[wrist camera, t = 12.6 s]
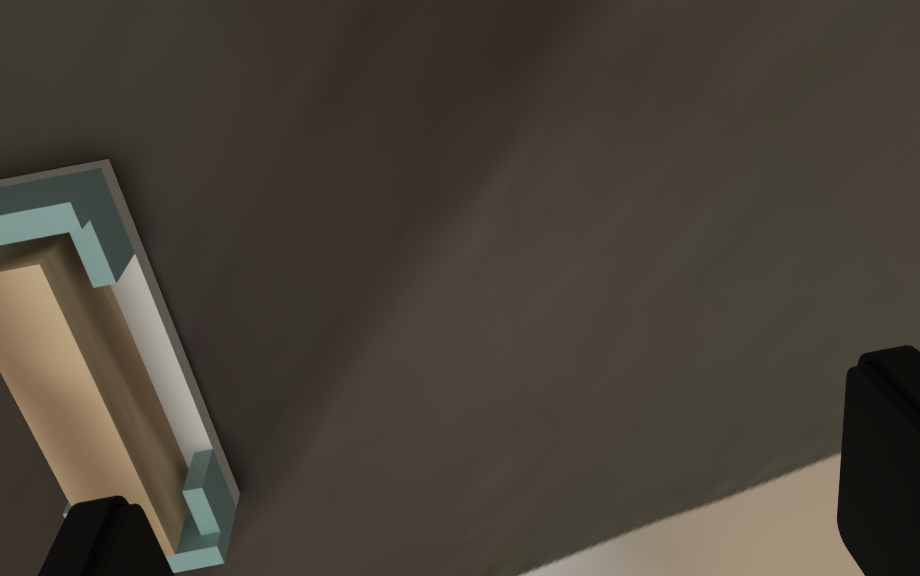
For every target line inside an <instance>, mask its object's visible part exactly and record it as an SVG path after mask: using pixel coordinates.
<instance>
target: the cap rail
mask: <svg viewBox="0 0 920 576" xmlns="http://www.w3.org/2000/svg"><path fill="white" fill-rule="evenodd" d="M67 232H69V233H70V235H71V237H72V240H73V242H74V244H75V247H76V249H77V251H78V253H79V256H80V258H81V260H82V263H83V265H84V267H85V269H86V272H87V274H88V276H89V279H90V281H91V283H92V286H93V288H95V287H100V286H106V285H111V288H112V290H113V292H114V295H115V297H116V299H117V302H118V304H119V307H120V309H121V311H122V314H123V316H124V318H125V321H126V323H127V325H128V328H129V330H130V332H131V335H132V337H133V339H134V342H135V344H136V346H137V349H138V351H139V354H140V356H141V358H142V361H143V363H144V365H145V368H146V370H147V372H148V375H149V377H150V379H151V382H152V384H153V386H154V389H155V391H156V393H157V396H158V398H159V400H160V403H161V405H162V408H163V410H164V412H165V415H166V417H167V419H168V422H169V424H170V426H171V429H172V431H173V433H174V436H175V438H176V440H177V443H178V445H179V447H180V450H181V452H182V455H183V457H184V459H185V462H186V464H187V466H188V469H189V471H188V474H187V477H186V480H185V484H184V487H183V490H182V492H183V495H184V497H185V499H186V501H187V504H188V506H189V509H188V512H187V516H186V519H185V523H184V526H183V529H182V533H181V536H180V540H179V543H178V547H177V550H176V553H175V555H171V556H166V559H167V561H168V563H169V565H170V567H171V569H172V571H173V573H176V572H181V571H186V570H191V569H197V568H202V567H207V566H212V565H218V564H223V563H224V562H225V558H226V553H227V549H228V544H229V540H230V535H231V531H232V526H233V521H234V517H235V512H236V508H237V503H238V499H239V494H240V492H239V490H238V487H237V485H236V482H235V480H234V477H233V475H232V472H231V469H230V467H229V464H228V462H227V459H226V457H225V454H224V452H223V449H222V447H221V444H220V441H219V439H218V436H217V434H216V431H215V429H214V426H213V424H212V421H211V418H210V416H209V413H208V411H207V408H206V406H205V403H204V401H203V398H202V395H201V393H200V390H199V388H198V385H197V383H196V380H195V378H194V375H193V372H192V370H191V367H190V365H189V362H188V360H187V357H186V355H185V352H184V349H183V347H182V344H181V342H180V339H179V337H178V334H177V332H176V329H175V327H174V324H173V321H172V319H171V316H170V314H169V311H168V309H167V306H166V304H165V301H164V298H163V296H162V293H161V291H160V288H159V286H158V283H157V281H156V278H155V275H154V273H153V270H152V268H151V265H150V263H149V260H148V258H147V255H146V252H145V250H144V247H143V245H142V242H141V240H140V237H139V235H138V232H137V229H136V227H135V224H134V222H133V219H132V217H131V214H130V212H129V209H128V207H127V204H126V201H125V199H124V196H123V194H122V191H121V189H120V186H119V184H118V181H117V178H116V176H115V173H114V171H113V168H112V166H111V163H110V161H109V159H105V160H100V161H95V162H90V163H84V164H79V165H74V166H69V167H64V168H58V169H53V170H48V171H43V172H37V173H32V174H27V175H22V176H17V177H11V178H6V179H1V180H0V245H4V244H9V243H15V242H20V241H25V240H30V239H36V238H41V237H46V236H51V235H56V234H62V233H67ZM70 508H71V505H70V503H69V502H68V504H67V506H66V508H65V511H64V513H63V515H64V517H65V518H66V515H67V513H68V511H69V510H70Z"/></svg>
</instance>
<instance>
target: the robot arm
mask: <svg viewBox="0 0 920 576" xmlns="http://www.w3.org/2000/svg"><path fill="white" fill-rule="evenodd" d="M837 524H838V529H839V532H840V535H841V538H842V540H843V543H844V544H845V546H846V548H847V549H848V551H849V552H850V554H851V555H852V557H853V558H854V560H855V561H856V563H857V564H858V566H859V567H860V569H861V570H862V572H863V573H864V575H865V576H920V352H919V351H918V350H917V349H915V348H914V347H912V346H908V345H905V346H900V347H894V348H889V349H884V350H879V351H873V352H868V353H865V354H863V355H861V357H860V359H859V361H858V366H855V367H851V368H850V369H849V370H848V372H847V377H846V392H845V407H844V421H843V436H842V451H841V466H840V480H839V495H838V511H837ZM38 576H174V573H173V571H172V569H171V567H170V565H169V563H168V561H167V559H166V556H165V554H164V552H163V550H162V548H161V546H160V544H159V542H158V539H157V537H156V535H155V533H154V531H153V529H152V527H151V525H150V522H149V520H148V518H147V516H146V514H145V512H144V510H143V508H142V507H141V506H140V505H139V504H136V503H134V504H129V503H128V501H127V499H125V498H124V497H123V496H120V495H116V496H111V497H106V498H100V499H95V500H90V501H85V502H79V503H76V504H74V505H73V506H72V507H71V508H70V510H69V511H68V513H67V515H66V518H65V520H64V522H63V524H62V526H61V528H60V530H59V532H58V534H57V537H56V539H55V541H54V543H53V545H52V547H51V549H50V551H49V553H48V556H47V558H46V560H45V562H44V564H43V566H42V568H41V570H40V572H39V574H38Z"/></svg>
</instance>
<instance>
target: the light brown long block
mask: <svg viewBox="0 0 920 576" xmlns="http://www.w3.org/2000/svg"><path fill="white" fill-rule="evenodd" d="M0 372H1V374H2V376H3V378H4V380H5V382H6V384H7V386H8V387H9V389H10V391H11V393H12V395H13V397H14V399H15V401H16V403H17V404H18V406H19V408H20V410H21V412H22V414H23V416H24V418H25V420H26V421H27V423H28V425H29V427H30V429H31V431H32V433H33V435H34V437H35V438H36V440H37V442H38V444H39V446H40V448H41V450H42V452H43V454H44V456H45V457H46V459H47V461H48V463H49V465H50V467H51V469H52V471H53V473H54V474H55V476H56V478H57V480H58V482H59V484H60V486H61V488H62V490H63V491H64V493H65V495H66V497H67V499H68V501H69V503H70V505H71V507H72V506H73V505H74V504H76V503H79V502H85V501H90V500H95V499H100V498H106V497H111V496H116V495H120V496H123V497H124V498H125V499H127V501H128V503H129V504H134V503H136V504H139V505H140V506H141V507H142V508H143V510H144V512H145V514H146V516H147V518H148V520H149V522H150V525H151V527H152V529H153V531H154V533H155V535H156V537H157V539H158V542H159V544H160V546H161V548H162V550H163V552H164V554H165V556H171V555H175V553H176V550H177V547H178V543H179V540H180V536H181V533H182V529H183V526H184V523H185V519H186V516H187V512H188V509H189V506H188V504H187V501H186V499H185V497H184V495H183V492H182V490H183V487H184V484H185V480H186V477H187V474H188V471H189V469H188V466H187V464H186V462H185V459H184V457H183V455H182V452H181V450H180V447H179V445H178V443H177V440H176V438H175V436H174V433H173V431H172V429H171V426H170V424H169V422H168V419H167V417H166V415H165V412H164V410H163V408H162V405H161V403H160V400H159V398H158V396H157V393H156V391H155V389H154V386H153V384H152V382H151V379H150V377H149V375H148V372H147V370H146V368H145V365H144V363H143V361H142V358H141V356H140V354H139V351H138V349H137V346H136V344H135V342H134V339H133V337H132V335H131V332H130V330H129V328H128V325H127V323H126V321H125V318H124V316H123V314H122V311H121V309H120V307H119V304H118V302H117V299H116V297H115V295H114V292H113V290H112V288H111V285H106V286H100V287H95V288H93V286H92V283H91V281H90V279H89V276H88V274H87V272H86V269H85V267H84V265H83V263H82V260H81V258H80V256H79V253H78V251H77V249H76V247H75V244H74V242H73V240H72V237H71V235H70V233H69V232H67V233H62V234H56V235H51V236H46V237H41V238H36V239H30V240H25V241H20V242H15V243H9V244H4V245H0Z"/></svg>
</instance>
